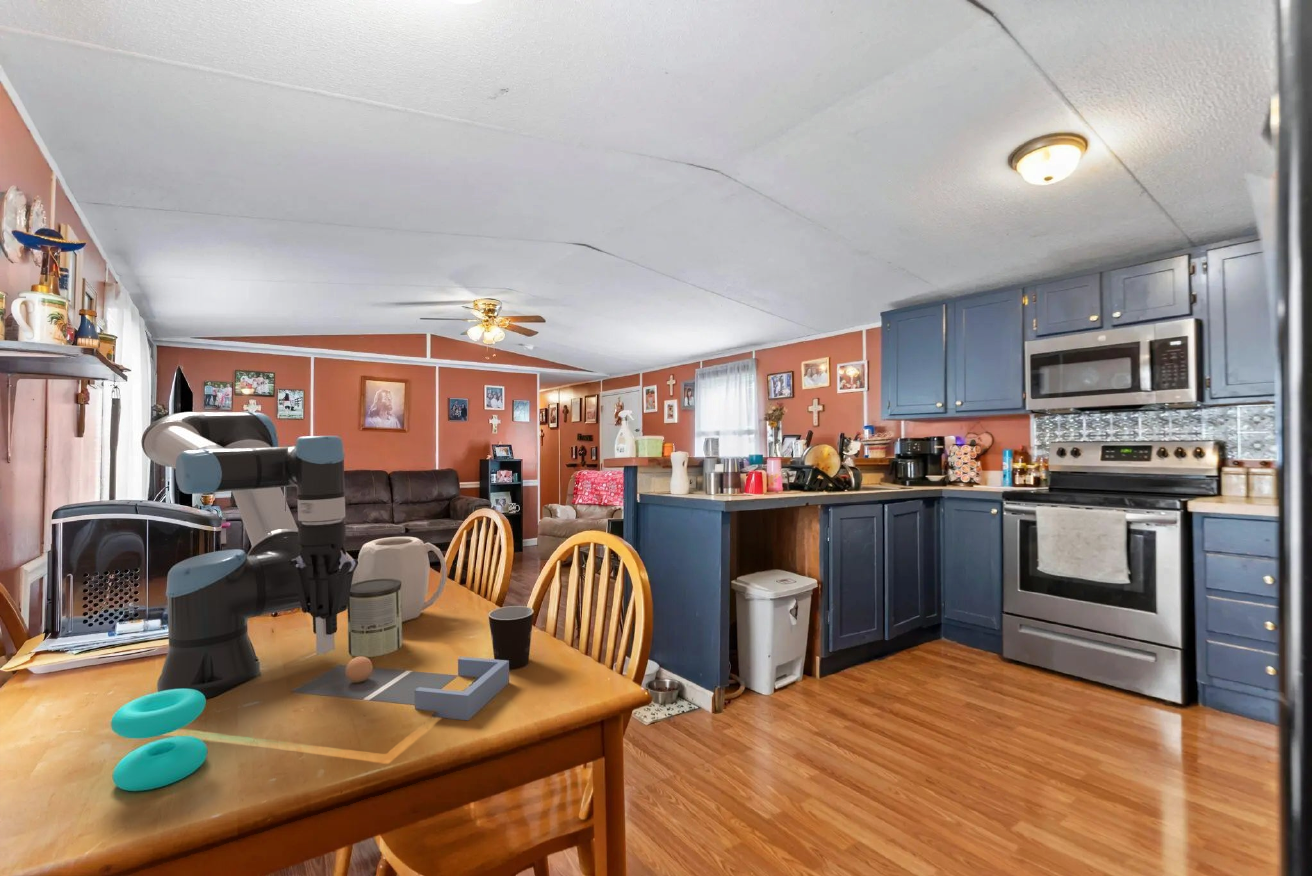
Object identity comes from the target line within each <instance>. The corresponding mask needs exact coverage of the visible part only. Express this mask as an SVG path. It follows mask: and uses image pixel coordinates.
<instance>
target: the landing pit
mask: <svg viewBox="0 0 1312 876" xmlns="http://www.w3.org/2000/svg"><path fill="white" fill-rule="evenodd" d="M457 675H458V676H457V677H469V678H470V677H471V678H476V679H475V680H473V681H472V682H473V683H472V684H470V685H469V686H468V687H467V688H466V689H465V690H463V691H462V690H461V691H460V690H454V689H443V688H441V689H432V688H422V687H418V688H417V689H416V690H414V692H415V705H414V710H422V711H429V712H431V711H432V712H434V713H433V714H432V715H431V716H430V717H433V718H442V719H449V720H459V721H460V720H461V721H469V720H471V719H472V718H473V717H475V715H476V714H477V713H478V712H479V711H481V710H482V708H483V707H485V706H486V705H487V704H488V703H489V702H490V701H491V700H492V699H493V698H494V697H495V696H496V695H498V693H500V692H501V691H502V690H503V689H504V688H505V687H506V686H507V685H508V684H509V683H510V670H509V661H507V660H495V659H494V658H481V657H480V658H479V657H469V656H460V657H458V658H457Z"/></svg>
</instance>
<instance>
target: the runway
mask: <svg viewBox="0 0 1312 876" xmlns="http://www.w3.org/2000/svg"><path fill="white" fill-rule="evenodd" d="M346 666H347V664H339V665H337V666H335V667H333V668H331V669H329V670H327V671H326V672H323V673H322V674H320V675H319V676H316V677H315V678H313V679H311V680H309V681H307V682H306V683H303V684H301V685H300V686H298V687H296V688H295V689H292V690H291V691H290V693H293V694H294V693H296V694H305V695H314V696H315V695H316V696H324V697H333V698H335V697H336V698H341V699H342V698H344V699H352V700H363V701H370V702H371V701H372V702H383V703H391V704H400V705H410V706H411V705H412V706H415V692H414V690H416V689H417V688H418V687H422V688H432V689H443V688H445V686H447V685H448V684H449V683H451V682H452V681H453V680H454V679H456V678H457V677H459V676H458V674H450V673H449V674H447V673H437V672H436V673H434V672H426V671H416V670H415V671H414V670H404V669H393V668H391V669H390V668H383V667H382V668H381V667H373V669H372V673H371V675H370V676H369V678H367V679H366V680H365V681H363V682H360V683H354V682H351V681H350V680H349V679H348V678H347V677H346V674H345V670H346Z"/></svg>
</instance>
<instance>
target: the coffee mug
mask: <svg viewBox="0 0 1312 876" xmlns="http://www.w3.org/2000/svg"><path fill="white" fill-rule="evenodd" d="M534 612H535V610H534V609H533V608H531V607H530V606H525V605H523V606H522V605H511V606H504V607H503V606H502V607H498V608H496V609H493V610H491V611H489V612H488V614H487V615H488V621H489V629H490V635H491V636H490V637H491V644H492V651H493V653H492V654H493V659H495V660H507V661H509V671H513V670H518V669H522V668H524V667H526V666H527V665H528V664H529V661H530V651H531V641H532V631H533V623H534V622H533V620H534Z"/></svg>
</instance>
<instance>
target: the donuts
mask: <svg viewBox="0 0 1312 876" xmlns="http://www.w3.org/2000/svg"><path fill="white" fill-rule="evenodd" d="M206 699H207V698H205V696H204V695H203V694H202V693H201V692H199V691H197V690H194V689H171V690H165V691H160V692H157V691H156V692H152V693H148V694H146V695H143V696H139V697H137V698H135V699H133V700H131V701H129V702H127V703H125V704H123V705H122V706H121V707H120V708H119V709H118V710H116V711H115V713H114V714H113V716H112V718H111V720H110V726H111V730H112V731H113V732H114V733H115V734H116V735H118V737H123V738H125V739H135V740H136V739H137V740H138V739H139V740H140V739H141V740H142V739H149V738H156V737H159V736H163V735H167V734H170V733H173V732H175V731H177V730H180V729H182V728H184V727H186V726H188V725H190V724H191V723H192V722H193V721H195V720H196V719H197V718H198V717H200V715H201V714H202V713H203V711H204V710H205V707H206V705H207V700H206ZM207 755H208V746H207V745H206V743H205V742H204V741H203V740H201V738H197V737H194V736H189V735H176V736H169V737H168V736H167V737H165V738H161V739H157V740H156V739H155V740H154V741H150V742H148V743H146V744H143V745H142V746H140V747H137V748H136V749H134V750H132V751H131V752H129V753H128V754H126V755H125V756H124V757H123V758H122V759H121V760H120V761H119V762H118V763H117V764H116V766H115V768H114V770H113V773H112V781H113V783H114V785H115V786H116V787H117V788H119V789H121V790H124V791H129V792H139V791H141V792H142V791H143V792H144V791H149V790H154V789H158V788H161V787H165V786H168V785H170V784H174V783H176V782H177V781H178V782H179V781H180V780H182V779H184V778H186V777H188V776H189V775H191V774H193V773H194V772H195V771H197V770H198V769H199V768H200V767H201V766H202V765H203V764H204V762H205V761H206V758H207Z"/></svg>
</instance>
